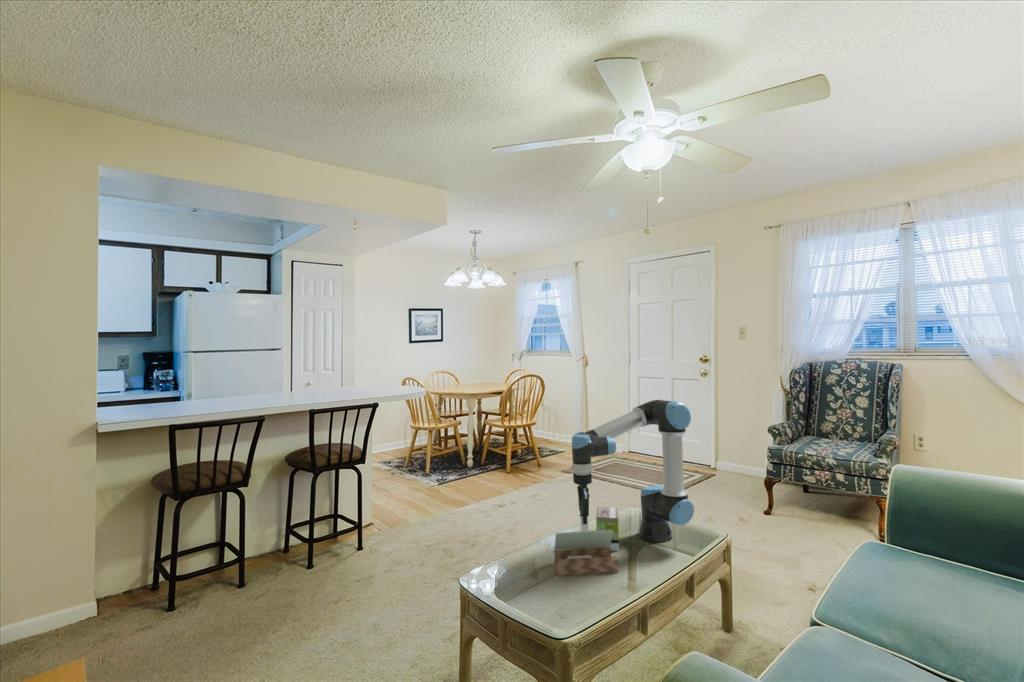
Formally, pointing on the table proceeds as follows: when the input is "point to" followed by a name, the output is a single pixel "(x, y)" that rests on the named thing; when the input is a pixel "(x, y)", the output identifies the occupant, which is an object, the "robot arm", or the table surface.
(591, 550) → the tissue box
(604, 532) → the cover
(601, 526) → the tea box
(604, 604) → the table surface
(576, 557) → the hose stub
